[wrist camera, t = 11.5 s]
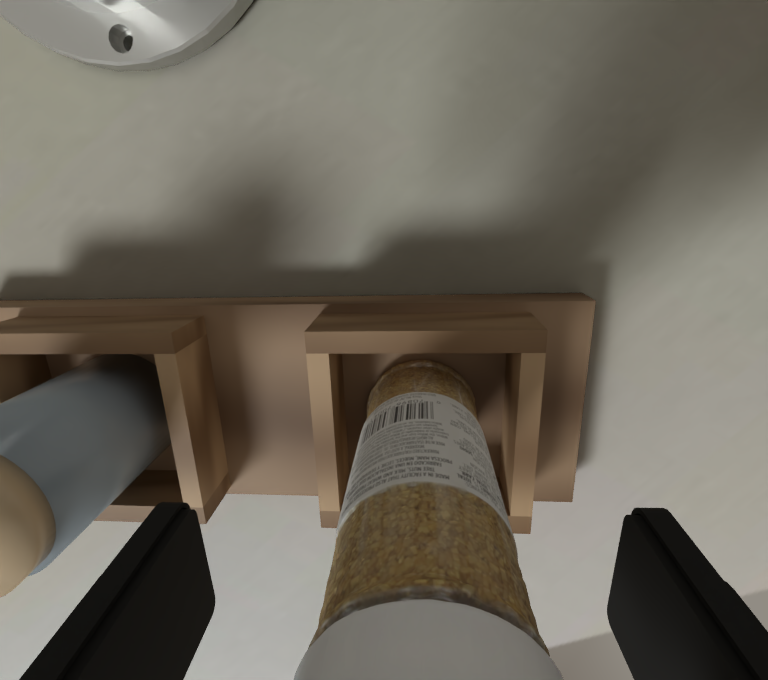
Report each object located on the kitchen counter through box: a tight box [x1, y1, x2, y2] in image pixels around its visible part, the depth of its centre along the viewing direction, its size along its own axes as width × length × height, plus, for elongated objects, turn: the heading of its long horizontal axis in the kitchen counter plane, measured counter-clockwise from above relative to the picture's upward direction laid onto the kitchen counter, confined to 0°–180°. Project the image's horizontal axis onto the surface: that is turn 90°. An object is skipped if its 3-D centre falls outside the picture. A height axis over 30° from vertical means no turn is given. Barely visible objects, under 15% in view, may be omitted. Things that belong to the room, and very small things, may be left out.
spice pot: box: [0, 354, 172, 597], centre depth 16 cm, size 5×5×8 cm
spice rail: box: [0, 293, 596, 534], centre depth 19 cm, size 9×26×4 cm, turn 92°
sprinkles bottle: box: [294, 360, 564, 680], centre depth 12 cm, size 5×5×14 cm
